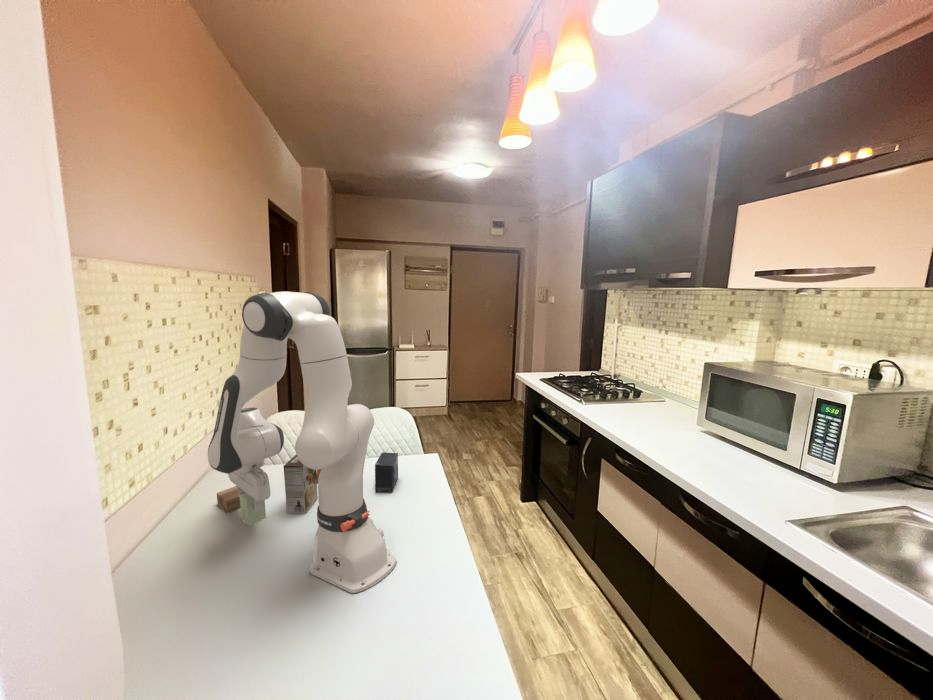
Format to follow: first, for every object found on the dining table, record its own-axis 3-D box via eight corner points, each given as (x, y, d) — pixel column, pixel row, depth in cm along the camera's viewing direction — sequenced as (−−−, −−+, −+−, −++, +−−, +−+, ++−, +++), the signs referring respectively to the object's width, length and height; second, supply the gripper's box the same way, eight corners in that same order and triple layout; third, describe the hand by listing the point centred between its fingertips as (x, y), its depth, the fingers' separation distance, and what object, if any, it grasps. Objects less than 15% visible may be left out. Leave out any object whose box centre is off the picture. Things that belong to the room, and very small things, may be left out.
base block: (254, 502, 125) (253, 491, 125) (227, 513, 119) (226, 501, 118) (244, 494, 130) (243, 483, 129) (217, 504, 124) (216, 493, 123)
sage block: (265, 517, 117) (264, 493, 116) (248, 525, 113) (246, 500, 112) (258, 511, 120) (256, 488, 119) (241, 519, 116) (239, 494, 115)
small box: (393, 493, 132) (392, 465, 130) (374, 493, 132) (373, 464, 130) (399, 478, 142) (398, 452, 141) (381, 478, 142) (381, 451, 141)
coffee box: (299, 498, 128) (296, 453, 126) (318, 498, 128) (315, 453, 126) (286, 513, 119) (282, 465, 117) (306, 514, 119) (303, 465, 117)
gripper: (275, 467, 110) (277, 511, 112) (244, 448, 122) (246, 488, 124) (252, 475, 105) (255, 521, 107) (222, 454, 117) (225, 496, 119)
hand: (250, 503), depth 116 cm, fingers open, 8 cm apart
